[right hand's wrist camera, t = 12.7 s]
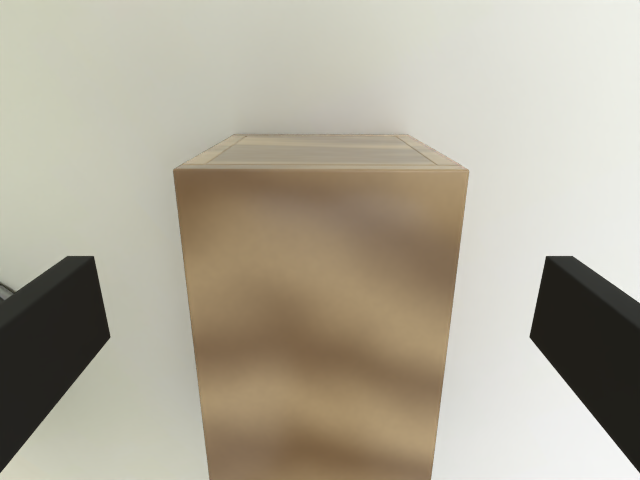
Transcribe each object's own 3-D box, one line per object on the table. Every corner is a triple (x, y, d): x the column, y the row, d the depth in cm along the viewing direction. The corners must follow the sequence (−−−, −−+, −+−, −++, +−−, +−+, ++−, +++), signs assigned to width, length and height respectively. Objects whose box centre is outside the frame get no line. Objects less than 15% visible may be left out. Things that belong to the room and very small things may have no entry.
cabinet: (391, 367, 32) (427, 511, 21) (249, 367, 32) (212, 510, 21) (408, 134, 26) (470, 169, 15) (233, 133, 26) (171, 168, 15)
